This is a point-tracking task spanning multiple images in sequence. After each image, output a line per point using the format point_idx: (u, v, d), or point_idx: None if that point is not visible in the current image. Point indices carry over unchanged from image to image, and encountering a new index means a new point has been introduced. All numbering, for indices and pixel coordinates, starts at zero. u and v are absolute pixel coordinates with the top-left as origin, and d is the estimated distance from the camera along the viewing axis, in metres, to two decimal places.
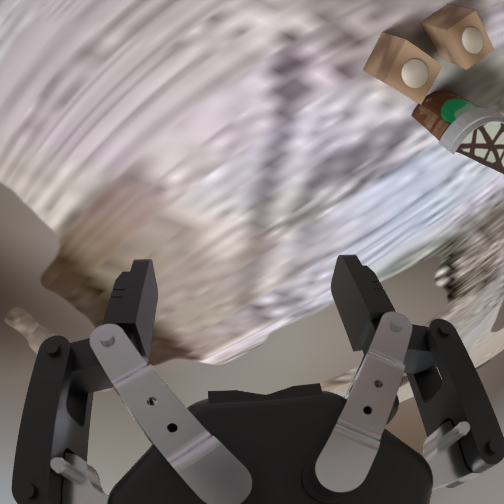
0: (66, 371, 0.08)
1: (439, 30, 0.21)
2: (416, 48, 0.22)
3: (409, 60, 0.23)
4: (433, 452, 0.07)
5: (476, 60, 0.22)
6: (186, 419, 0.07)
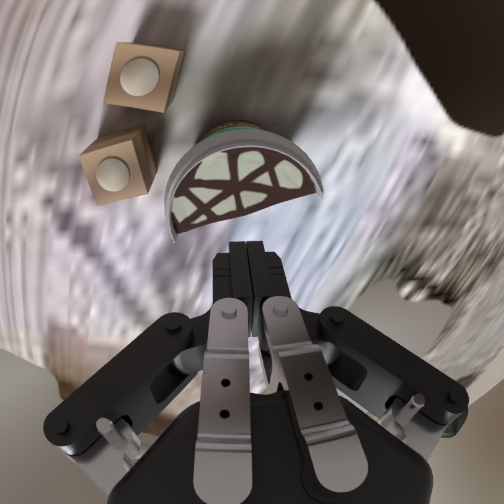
0: (172, 352, 0.09)
1: None
2: (93, 152, 0.23)
3: (98, 169, 0.24)
4: (400, 433, 0.08)
5: (166, 89, 0.21)
6: (242, 415, 0.07)
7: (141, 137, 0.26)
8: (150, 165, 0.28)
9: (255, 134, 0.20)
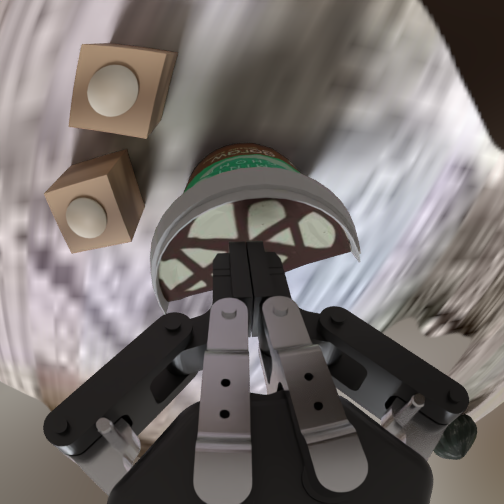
0: (172, 352, 0.09)
1: None
2: (61, 190, 0.18)
3: (68, 210, 0.19)
4: (400, 433, 0.08)
5: (149, 107, 0.15)
6: (242, 414, 0.07)
7: (122, 167, 0.20)
8: (135, 201, 0.22)
9: (273, 176, 0.15)
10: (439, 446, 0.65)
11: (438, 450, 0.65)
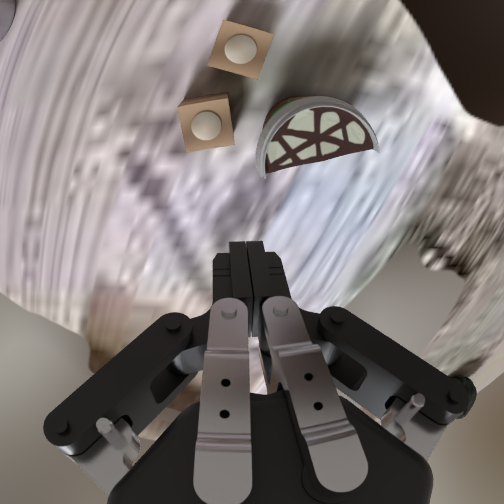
0: (172, 352, 0.09)
1: None
2: (191, 105, 0.29)
3: (194, 119, 0.30)
4: (400, 433, 0.08)
5: (261, 62, 0.27)
6: (242, 415, 0.07)
7: (228, 100, 0.31)
8: None
9: (334, 100, 0.26)
10: None
11: None
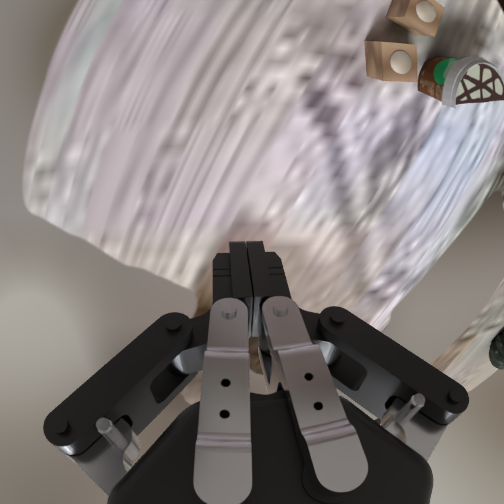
0: (172, 352, 0.09)
1: (400, 18, 0.28)
2: (391, 43, 0.29)
3: (392, 55, 0.29)
4: (400, 433, 0.08)
5: (437, 24, 0.26)
6: (241, 415, 0.07)
7: None
8: None
9: None
10: (500, 355, 0.76)
11: (499, 359, 0.76)
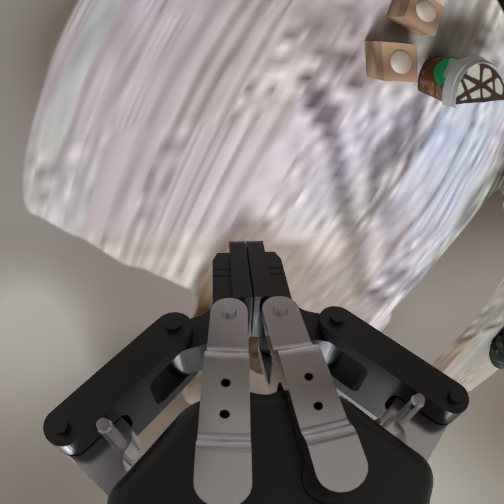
0: (172, 352, 0.09)
1: (400, 18, 0.28)
2: (392, 43, 0.29)
3: (392, 55, 0.29)
4: (400, 433, 0.08)
5: (437, 24, 0.26)
6: (242, 414, 0.07)
7: None
8: None
9: None
10: (500, 355, 0.76)
11: (499, 359, 0.76)
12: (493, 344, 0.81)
